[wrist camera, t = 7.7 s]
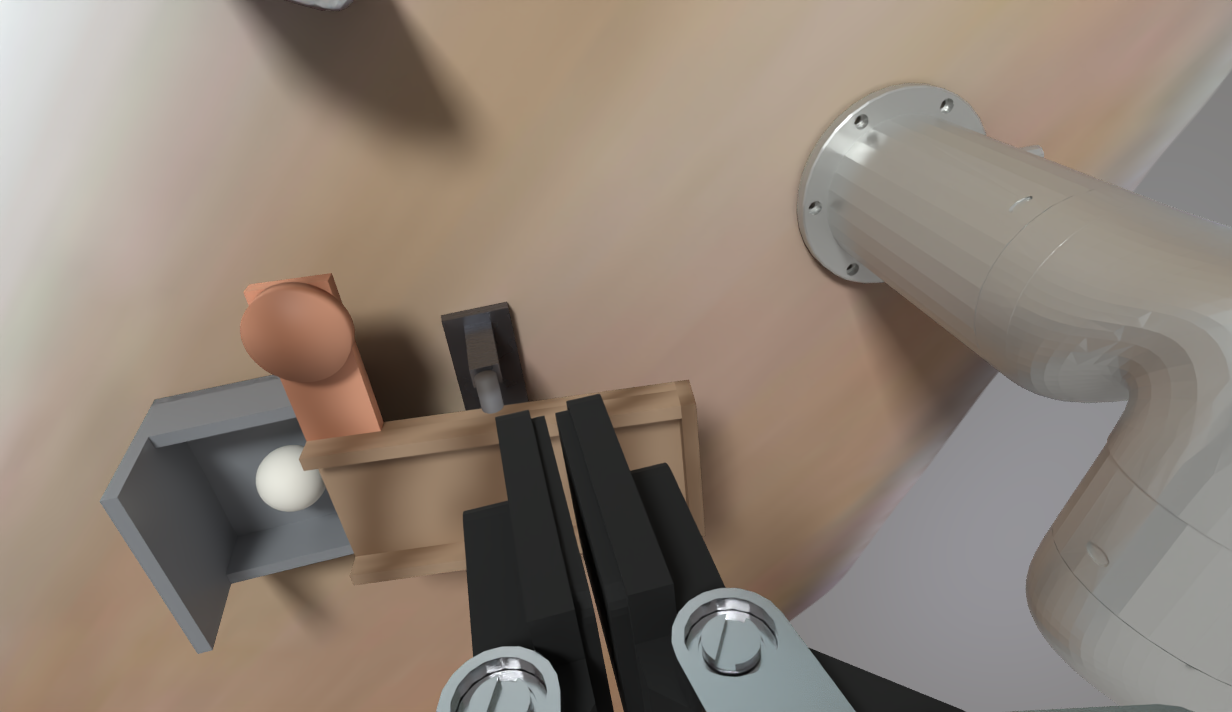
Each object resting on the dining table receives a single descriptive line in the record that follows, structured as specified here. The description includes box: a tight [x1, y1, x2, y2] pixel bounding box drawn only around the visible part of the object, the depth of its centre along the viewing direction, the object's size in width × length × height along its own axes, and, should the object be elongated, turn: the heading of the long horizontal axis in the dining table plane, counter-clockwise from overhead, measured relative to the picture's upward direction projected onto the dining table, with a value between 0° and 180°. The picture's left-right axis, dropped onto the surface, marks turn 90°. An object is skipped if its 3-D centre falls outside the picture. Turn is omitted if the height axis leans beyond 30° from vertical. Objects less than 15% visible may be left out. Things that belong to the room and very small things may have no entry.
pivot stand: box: [441, 302, 528, 411], centre depth 47 cm, size 4×15×6 cm, turn 7°
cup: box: [100, 375, 354, 654], centre depth 44 cm, size 12×12×9 cm
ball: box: [256, 445, 326, 512], centre depth 45 cm, size 4×4×4 cm
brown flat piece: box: [240, 273, 705, 585], centre depth 41 cm, size 21×21×3 cm
